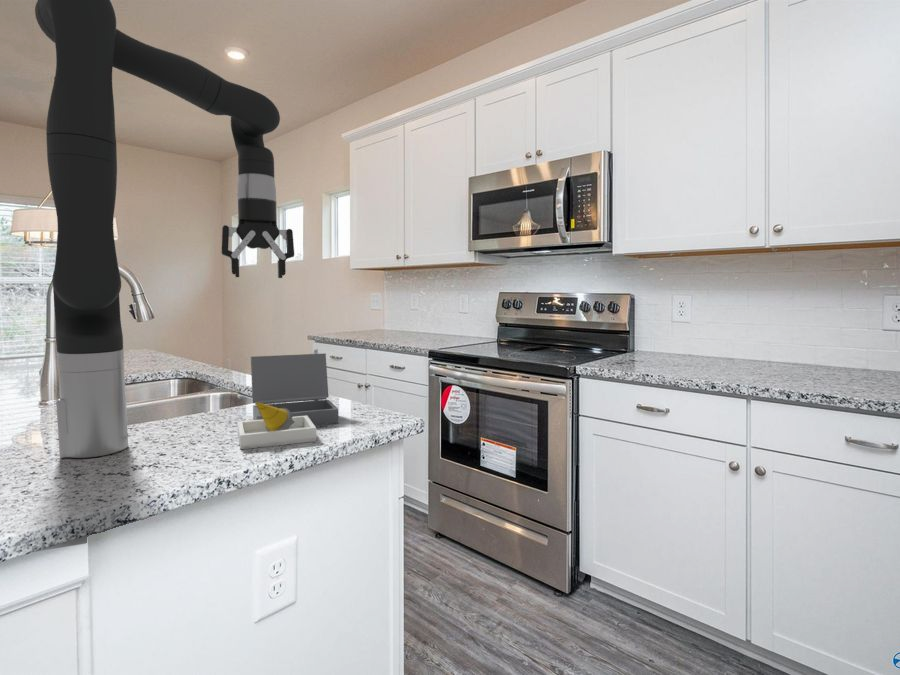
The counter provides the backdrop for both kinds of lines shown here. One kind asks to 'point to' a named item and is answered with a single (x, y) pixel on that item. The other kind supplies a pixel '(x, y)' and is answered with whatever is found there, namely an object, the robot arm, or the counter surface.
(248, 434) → the tray
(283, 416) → the drill bit
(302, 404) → the case
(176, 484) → the counter surface
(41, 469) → the counter surface
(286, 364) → the lid
